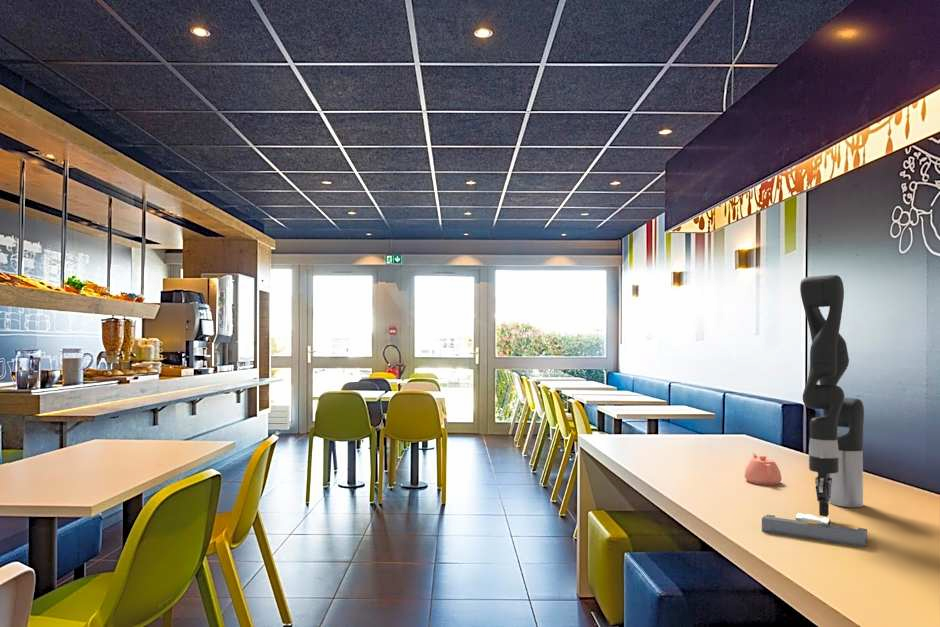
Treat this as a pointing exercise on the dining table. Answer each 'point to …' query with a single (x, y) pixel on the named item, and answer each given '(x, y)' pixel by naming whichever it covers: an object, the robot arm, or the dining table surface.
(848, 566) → the dining table surface
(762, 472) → the pink rounded piece
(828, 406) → the robot arm
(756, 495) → the dining table surface
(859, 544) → the stop bracket
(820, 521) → the pipe fitting
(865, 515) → the dining table surface
